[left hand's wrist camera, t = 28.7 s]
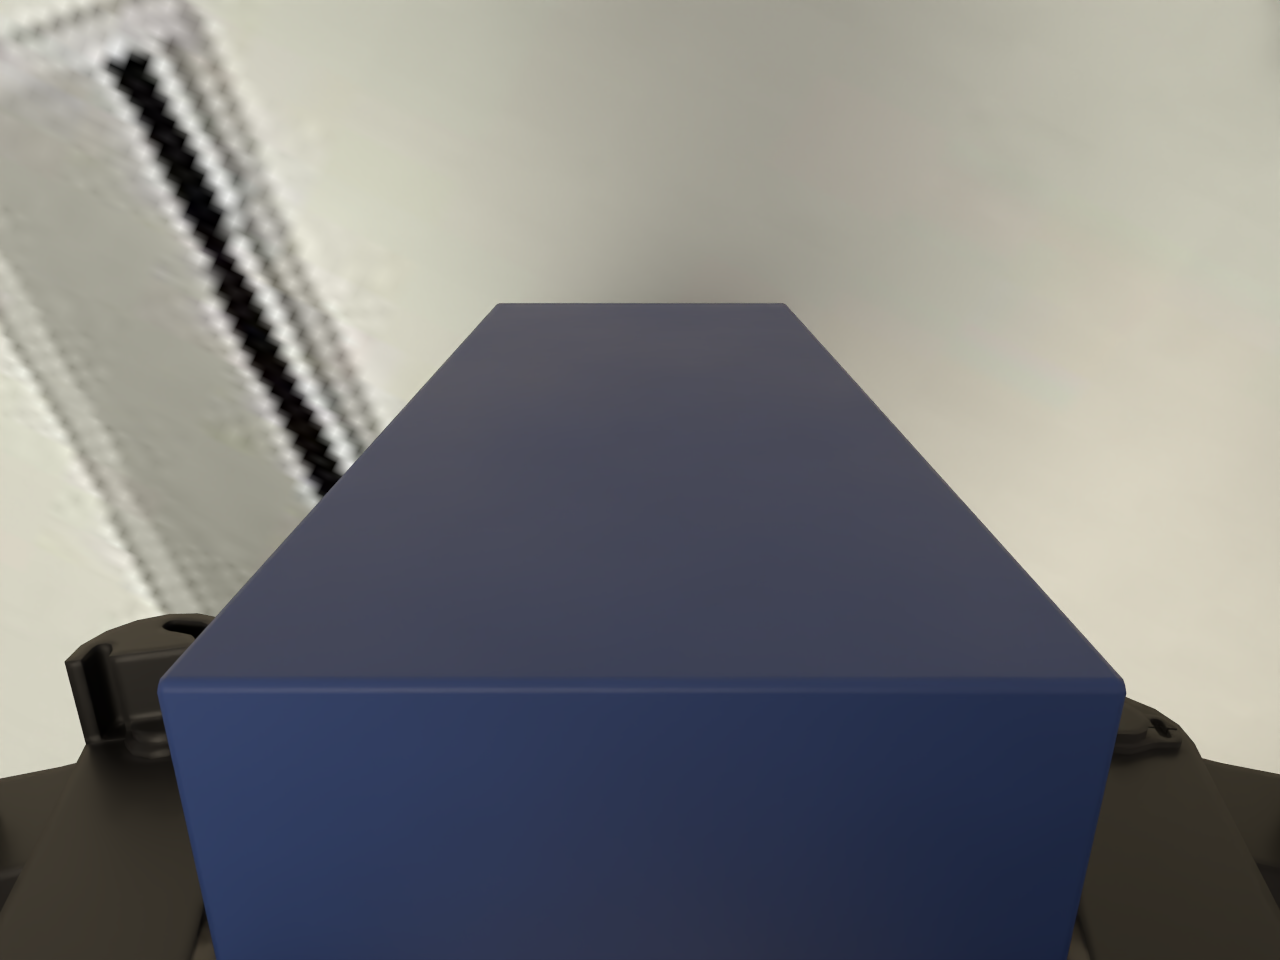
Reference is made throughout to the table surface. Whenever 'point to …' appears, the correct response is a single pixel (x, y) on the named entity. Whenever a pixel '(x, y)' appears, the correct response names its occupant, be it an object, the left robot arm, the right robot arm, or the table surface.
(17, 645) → the table surface
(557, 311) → the brick
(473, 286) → the table surface
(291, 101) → the table surface
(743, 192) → the table surface
